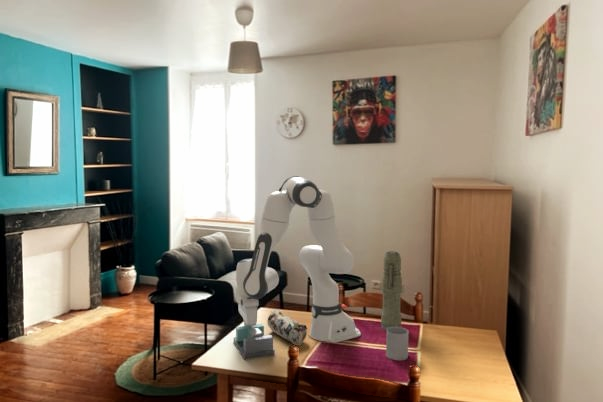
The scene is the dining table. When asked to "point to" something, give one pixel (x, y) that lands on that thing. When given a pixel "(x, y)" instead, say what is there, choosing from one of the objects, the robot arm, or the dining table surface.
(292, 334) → the pencil case
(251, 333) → the steel block
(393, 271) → the grey-green stone column
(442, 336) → the dining table surface
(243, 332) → the bar
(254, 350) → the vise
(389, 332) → the cup
